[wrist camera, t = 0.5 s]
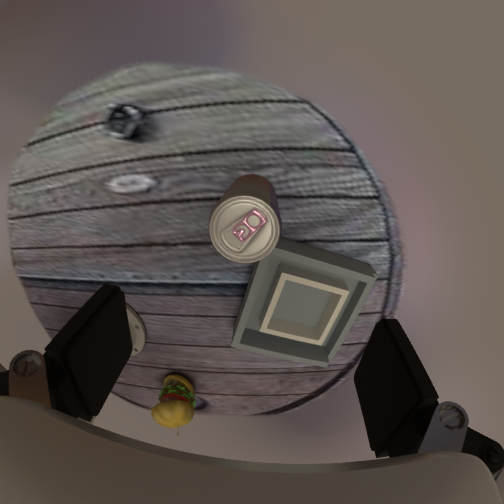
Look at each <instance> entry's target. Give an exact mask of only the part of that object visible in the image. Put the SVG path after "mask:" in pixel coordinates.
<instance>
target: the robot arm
mask: <svg viewBox="0 0 504 504" xmlns="http://www.w3.org/2000/svg"><path fill="white" fill-rule="evenodd" d="M146 337H147V336H146V330H145V327H144V324H143V322H142V321H141V319H140V317H139V316H138V315H137V313H136V312H135V311H134V310H133V309H132V308H131V307H129V306H128V305H127V304H126V302H125V295H124V292H123V291H121V289H120V287H118V286H114V285H109V284H104V285H103V286H102V287H101V288H100V289H99V290H98V291H97V292H96V293H95V294H94V295H93V296H92V297H91V298H90V299H89V300H88V301H87V302H86V303H85V304H84V305H83V306H82V308H81V309H80V310H79V311H78V312H77V313H76V314H75V315H74V316H73V317H72V318H71V319H70V320H69V322H68V323H67V324H66V325H65V326H64V327H63V328H62V329H61V330H60V332H59V333H58V334H57V335H56V336H55V337H54V338H53V339H52V341H51V342H50V343H49V344H48V345H47V346H46V348H45V351H46V352H45V353H44V355H42V354H41V353H39V352H38V351H34V350H25V351H22V352H20V353H18V354H17V355H16V356H15V357H13V359H12V360H11V362H10V366H9V370H7V369H6V368H4V367H3V366H2V365H1V364H0V504H504V450H503V448H502V446H501V445H500V444H499V443H497V442H496V441H494V440H492V439H490V438H488V437H486V436H484V435H482V434H480V433H479V432H477V431H475V430H473V429H471V428H469V427H468V423H469V419H468V415H467V413H466V412H465V410H464V409H463V408H462V407H461V406H460V405H458V404H457V403H454V402H450V401H445V402H442V403H440V404H439V403H438V401H437V399H438V398H439V396H438V394H437V392H436V390H435V388H434V386H433V384H432V382H431V380H430V378H429V376H428V374H427V372H426V370H425V368H424V366H423V365H422V363H421V361H420V359H419V357H418V355H417V354H416V351H415V350H414V348H413V346H412V344H411V342H410V341H409V339H408V337H407V335H406V334H405V332H404V330H403V329H402V327H401V325H400V323H399V322H398V320H397V319H384V318H383V319H382V320H381V321H380V322H377V323H376V325H375V327H374V330H373V332H372V335H371V337H370V340H369V342H368V344H367V347H366V349H365V351H364V354H363V356H362V358H361V360H360V363H359V365H358V367H357V369H356V371H355V374H354V383H355V387H356V390H357V394H358V398H359V402H360V405H361V410H362V414H363V418H364V422H365V426H366V430H367V435H368V439H369V444H370V448H371V450H372V451H375V455H376V458H380V457H386V456H389V457H390V458H385V459H377V460H368V461H357V462H346V463H330V464H278V463H261V462H249V461H239V460H231V459H223V458H216V457H209V456H204V455H198V454H193V453H188V452H183V451H178V450H173V449H169V448H165V447H161V446H157V445H153V444H149V443H146V442H142V441H139V440H136V439H132V438H129V437H126V436H123V435H120V434H116V433H114V432H111V431H108V430H105V429H103V428H100V427H97V426H94V425H92V424H93V421H94V419H95V417H96V416H97V415H98V414H99V412H100V410H101V408H102V407H103V405H104V403H105V401H106V399H107V397H108V395H109V393H110V392H111V390H112V388H113V386H114V384H115V382H116V381H117V379H118V377H119V375H120V373H121V372H122V370H123V368H124V366H125V364H126V363H127V361H128V359H129V357H130V356H133V355H136V354H138V353H139V352H140V351H141V350H142V349H143V347H144V345H145V343H146Z"/></svg>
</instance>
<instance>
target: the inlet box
mask: <svg viewBox="0 0 504 504" xmlns="http://www.w3.org/2000/svg"><path fill="white" fill-rule="evenodd" d="M377 276H378V274H377V273H376V272H375V270H374V269H373V268H372V267H371V265H370V264H367V263H364V262H360V261H357V260H354V259H351V258H348V257H345V256H342V255H339V254H335V253H332V252H329V251H326V250H323V249H320V248H316V247H313V246H310V245H307V244H304V243H300V242H297V241H294V240H291V239H287V238H284V237H281V236H280V238H279V240H278V242H277V244H276V246H275V248H274V249H273V251H272V252H271V253H270V254H269V255H268V256H266V257H265V258H263V259H261V260H259V261H257V262H255V265H254V268H253V271H252V274H251V277H250V280H249V283H248V286H247V289H246V292H245V295H244V298H243V301H242V304H241V307H240V310H239V313H238V316H237V319H236V322H235V325H234V330H233V336H232V342H231V347H235V348H238V349H242V350H246V351H250V352H254V353H259V354H263V355H267V356H272V357H276V358H281V359H285V360H290V361H295V362H300V363H305V364H310V365H316V366H321V367H327V366H328V364H329V362H331V361H332V359H333V357H334V356H335V354H336V352H337V351H338V349H339V347H340V346H341V344H342V342H343V341H344V339H345V337H346V335H347V334H348V332H349V330H350V328H351V327H352V325H353V323H354V321H355V319H356V317H357V316H358V314H359V312H360V310H361V308H362V306H363V304H364V302H365V300H366V298H367V297H368V295H369V293H370V291H371V289H372V287H373V285H374V283H375V280H376V278H377Z"/></svg>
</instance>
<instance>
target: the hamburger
mask: <svg viewBox="0 0 504 504" xmlns="http://www.w3.org/2000/svg"><path fill="white" fill-rule="evenodd" d="M164 388H165V389H161V393H160V394H159V397H160V398H159V400H160V403H159V404H158V403H157V405H156V406H154V407H153V408H152V410H151V411H152V417H153V419H154V420H155V421H156V422H157V423H158V424H160V425H161V426H164V427H168V428H175V427H177V428H178V427H181V426H183V425H186V424H187V423H189V422H190V421H191V420H192V418H193V415H194V406H195V402H196V400H194V398H195V391H194V388H193V386H192V385H191V383H190V382H189V381H188V380H187V379H185V378H184V377H182V376H180V375H177V374H172V375H169V376H167V377H166V378H165V379H164ZM176 435H177V436H179V431H177V434H176Z"/></svg>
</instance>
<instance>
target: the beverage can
mask: <svg viewBox="0 0 504 504" xmlns="http://www.w3.org/2000/svg"><path fill="white" fill-rule="evenodd" d="M281 229H282V222H281V217H280V212H279V208H278V203H277V199H276V194H275V190H274V188H273V186H272V185H271V183H270V182H269V181H268V180H267V179H265V178H264V177H262V176H259V175H254V174H249V175H244V176H242V177H240V178H238V179H237V180H236V181H235V182H234V183H233V184H232V185H231V187H230V188H229V189H228V190H227V191H226V193H225V194H224V195H223V196H222V198H221V199H220V200H219V201H218V202H217V204H216V205H215V206H214V208H213V210H212V212H211V215H210V219H209V235H210V239H211V241H212V244H213V245H214V247H215V248H216V250H217V251H218V252H219V253H220V254H221V255H222V256H224V257H225V258H227V259H229V260H231V261H234V262H237V263H253V262H257V261H259V260H261V259H263V258H265V257H266V256H268V255H269V254H270V253H271V252H272V251H273V249H274V248H275V246H276V244H277V242H278V240H279V238H280V235H281Z"/></svg>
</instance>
